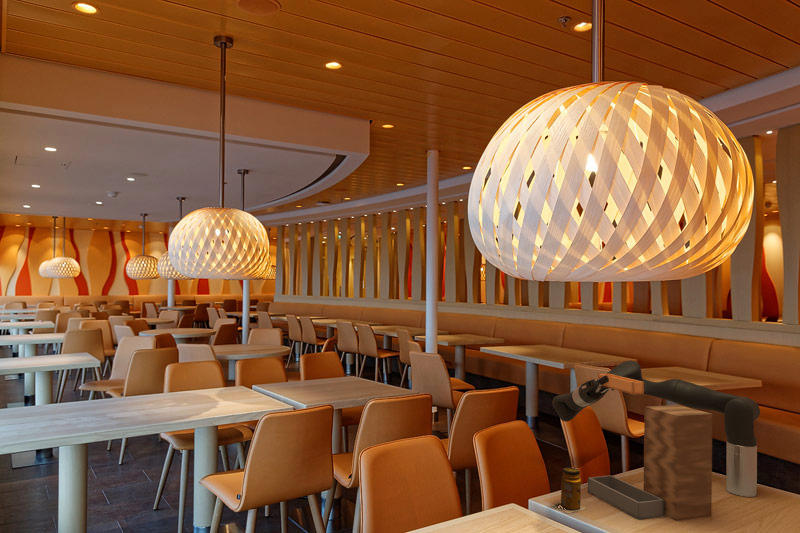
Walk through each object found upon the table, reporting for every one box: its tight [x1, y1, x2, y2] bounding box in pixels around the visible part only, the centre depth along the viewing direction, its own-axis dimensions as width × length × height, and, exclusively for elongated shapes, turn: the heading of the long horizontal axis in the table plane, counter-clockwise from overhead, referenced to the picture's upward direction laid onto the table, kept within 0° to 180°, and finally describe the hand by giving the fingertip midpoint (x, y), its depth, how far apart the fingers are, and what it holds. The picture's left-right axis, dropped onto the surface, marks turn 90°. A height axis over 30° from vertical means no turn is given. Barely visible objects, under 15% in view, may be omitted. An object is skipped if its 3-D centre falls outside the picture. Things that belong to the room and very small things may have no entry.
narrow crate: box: [597, 373, 645, 395], centre depth 200 cm, size 18×4×4 cm, turn 18°
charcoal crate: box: [587, 474, 665, 521], centre depth 190 cm, size 24×10×5 cm, turn 19°
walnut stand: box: [643, 404, 713, 522], centre depth 186 cm, size 14×14×32 cm
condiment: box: [551, 467, 587, 514], centre depth 185 cm, size 7×8×12 cm
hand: (613, 377), depth 203 cm, fingers closed on narrow crate, 4 cm apart
